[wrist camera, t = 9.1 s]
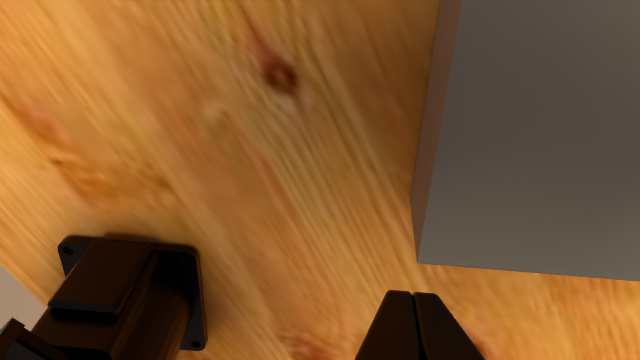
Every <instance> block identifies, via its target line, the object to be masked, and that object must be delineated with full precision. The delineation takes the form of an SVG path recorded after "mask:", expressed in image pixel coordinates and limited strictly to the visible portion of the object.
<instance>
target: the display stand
mask: <svg viewBox="0 0 640 360" xmlns="http://www.w3.org/2000/svg"><path fill="white" fill-rule="evenodd" d="M410 206H411V214H412V223H413V232H414V240H415V249H416V258H417V263H422V264H434V265H446V266H459V267H471V268H483V269H495V270H507V271H519V272H531V273H544V274H556V275H568V276H580V277H592V278H604V279H616V280H629V281H640V0H440V6H439V12H438V19H437V25H436V32H435V39H434V45H433V52H432V59H431V65H430V72H429V78H428V85H427V92H426V98H425V105H424V112H423V118H422V125H421V131H420V138H419V145H418V151H417V158H416V165H415V171H414V178H413V184H412V191H411V198H410Z"/></svg>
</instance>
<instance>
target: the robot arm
mask: <svg viewBox="0 0 640 360" xmlns="http://www.w3.org/2000/svg"><path fill="white" fill-rule="evenodd" d="M69 247H71V248H72V249H70V248H69ZM58 252H59V256H60V259H61V263H62V266H63V270H64V274H65V277H66V278H65V280H64V281H63V282H62V284H61V285H60V286H59V288H58V289H57V290H56V292H55V293H54V295H53V296H52V297H51V299H50V300H49V301H48V308H47V309H46V311H45V312H44V313H43V315H42V316H41V318H40V319H39V320H38V322H37V323H36V325H35V326H34V327H33V329H32V330H31V331H28V330H27V329H25V328H24V326H25V325H24V324H22V323H20V322H19V321H17V320H16V319H14V318H11V319H10V321H8V322H7V323H6V325H4V326H3V328H2V329H1V330H0V360H175V359H176V357H177V354H178V352H179V349H181V350H192V351H201V350H203V349H204V348H205V346H206V343H207V329H206V320H205V310H204V301H203V291H202V281H201V272H200V262H199V255H198V252H197V251H196V250H195V249H193V248H191V247H187V246H175V245H163V244H151V243H139V242H127V241H115V240H103V239H91V238H78V237H66V238H64V239H63V240H62V241H61V243H60V244H59V245H58ZM184 256H186V257H189V258H190V259H186V258H185V257H184ZM355 360H485V359H484V357H483V356H482V355H481V353H480V352H479V350H478V349H477V348H476V346H475V345H474V344H473V342H472V341H471V340H470V338H469V337H468V336H467V334H466V333H465V332H464V330H463V329H462V327H461V326H460V325H459V323H458V322H457V321H456V319H455V318H454V317H453V315H452V314H451V313H450V311H449V310H448V308H447V307H446V306H445V304H444V303H443V302H442V300H441V299H440V298H439V296H437V295H436V294H433V293H422V292H415V293H413V294H411V293H410V292H408V291H398V290H389V291H387V293H386V294H385V296H384V299H383V301H382V303H381V305H380V307H379V309H378V311H377V313H376V315H375V317H374V320H373V322H372V324H371V326H370V328H369V330H368V332H367V334H366V336H365V339H364V341H363V343H362V345H361V347H360V349H359V351H358V353H357V355H356V357H355Z"/></svg>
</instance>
